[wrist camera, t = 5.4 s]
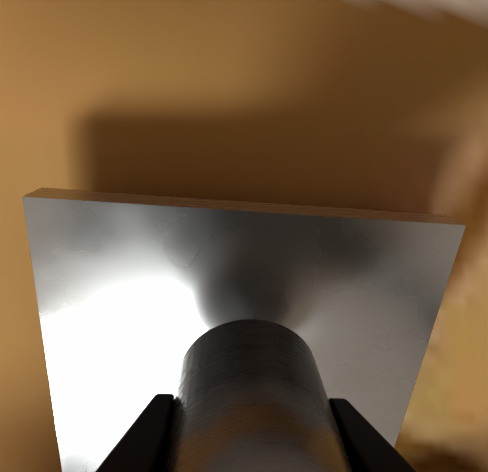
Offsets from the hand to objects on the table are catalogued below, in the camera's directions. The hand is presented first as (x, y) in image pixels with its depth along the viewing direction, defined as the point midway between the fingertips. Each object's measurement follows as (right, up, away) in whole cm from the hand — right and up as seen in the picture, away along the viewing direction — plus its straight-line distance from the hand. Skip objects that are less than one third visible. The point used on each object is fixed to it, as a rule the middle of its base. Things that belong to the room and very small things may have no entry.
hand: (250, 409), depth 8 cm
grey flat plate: (-1, -4, +7) cm, 8 cm away
